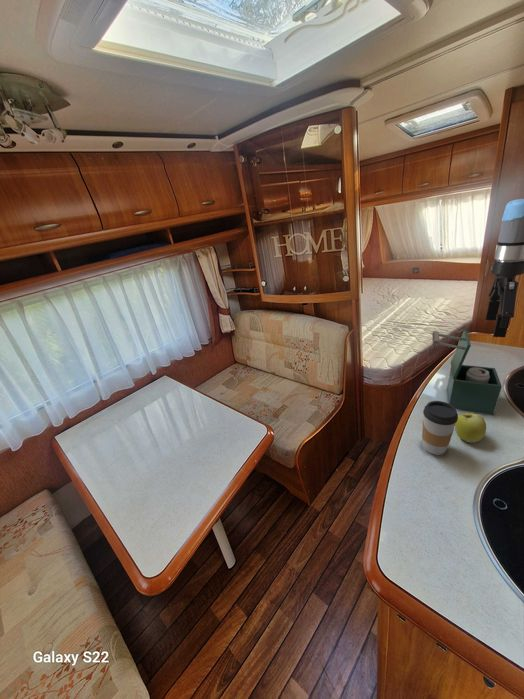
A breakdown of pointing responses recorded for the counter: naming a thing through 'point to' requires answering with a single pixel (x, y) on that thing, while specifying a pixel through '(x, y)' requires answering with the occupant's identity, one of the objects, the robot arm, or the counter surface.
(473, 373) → the beverage can
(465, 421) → the apple
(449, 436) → the coffee cup
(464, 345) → the bin lid
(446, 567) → the counter surface
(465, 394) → the waste bin
